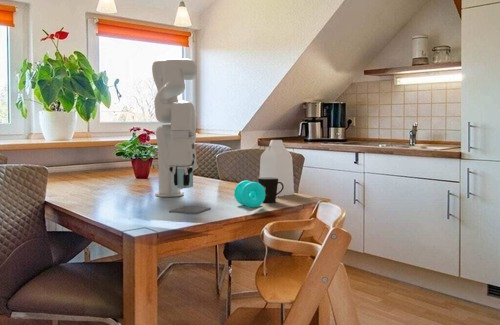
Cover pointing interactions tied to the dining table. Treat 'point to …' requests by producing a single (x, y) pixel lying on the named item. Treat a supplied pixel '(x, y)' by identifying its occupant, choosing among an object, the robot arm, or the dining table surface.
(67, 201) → the dining table surface
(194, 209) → the mat
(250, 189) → the teal spool
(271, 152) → the milk
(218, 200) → the dining table surface
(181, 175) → the slab
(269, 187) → the coffee mug
